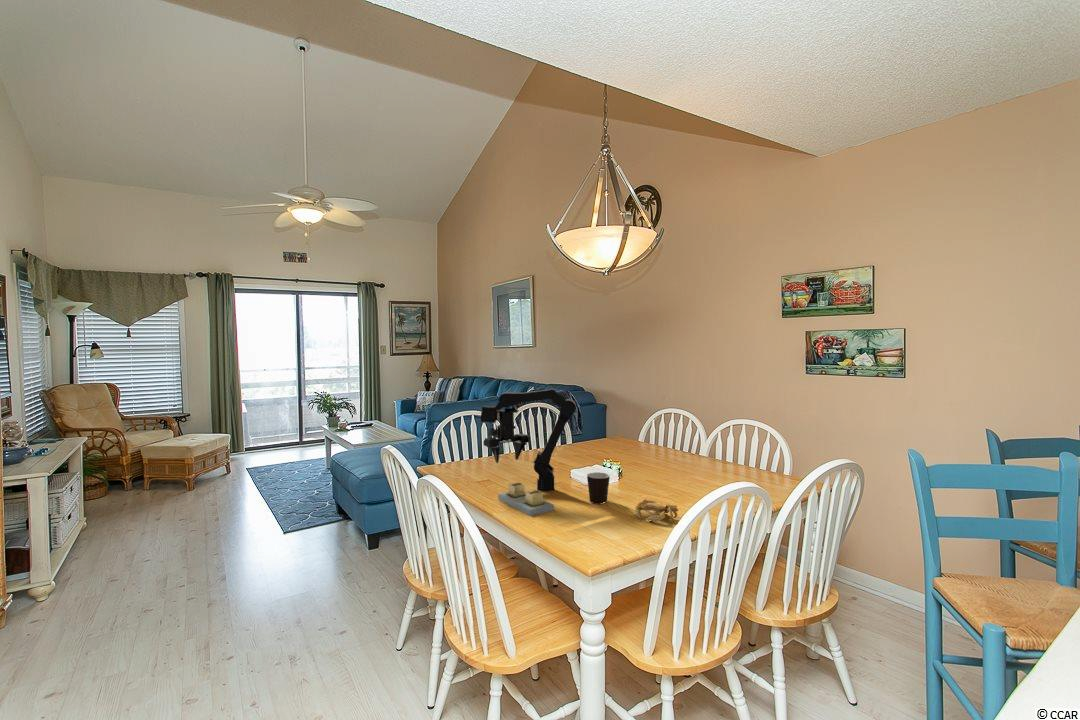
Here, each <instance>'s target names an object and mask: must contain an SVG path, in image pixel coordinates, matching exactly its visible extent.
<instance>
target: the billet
mask: <svg viewBox="0 0 1080 720" xmlns="http://www.w3.org/2000/svg"><path fill="white" fill-rule="evenodd" d="M507 487H508V490H507V492H508V495H509V496H510V497H512V498H518V497H523V496H525V492H526V491H525V489H526V487H525V484H524V483H521V482H518V481H517V482H511V483H508V486H507Z"/></svg>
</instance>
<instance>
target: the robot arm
mask: <svg viewBox="0 0 1080 720" xmlns="http://www.w3.org/2000/svg"><path fill="white" fill-rule="evenodd" d="M543 400H551V401H552V402H553V403H554V404H555V405H557V406H558V407H559V408H560V409H559V414H558V418H557V420H556V422H555V425H554V426H553V429H552V431H551V433H550V435H549V436H548V437H549V438H548V440H547V442H546V443H545V446H544V448H543V449H542V451H539V450H538V452H537V454H536V457H535V458H534V460H533V469H534V471H535V473H537V474H538V478H537V479H536V490H537V491H541V492H550V491H555V475H554V472H555V471H554V470H555V468H554V467H553V466H552V465H551V464H550V461H551V459H552V454H553V452H554V450H555V448H556V445H557V444H558V442H559V439H560V438H561V435H562V433H563V430H564V429H565V427H566V425H567V423H568V422H569V420H570V419H571V417H572V416H573V414H574V413H575V412H576V409H577V407H576V406H577V405H576V402H575V400H574V399H571V398H567V397H566V396H565V395H563V394H561V393H560V392H559V391H557V390H556V389H555V388H549V389H548V388H547V389H541V390H540V389H539V390H533V391H525V392H519V391H517V392H516V391H505V392H503V393H502V394H500V396H499V398H498V402H497V404H495V406H485V405H483V406H482V407H481V412H480V413H481V414H480V422H481V424H496V423H497V421H499V425H497V428H496V429H495V427H491V428H489V429H488V435H489V436H488V437H485V438H484V440H483V446H485V447H486V448H489V449H490V451H491V453H492V456H493V458H494V462H495V463H496V464H498V463H499V460H500V445H501V444H506V443H513V444H514V458H515V461H517V460H519V458H520V455H521V453H522V451H523V449H524V448H525V446H526V445H527V443H530V437H529V435H528V434H525V433H516V434H515V433H514V432H515V431H514V430H515V429H516V425H514V424H515V420H514V419H515V413H518V412H519V409H518V408H516V406H517V405H518V404H523V403H527V402H535V401H536V402H537V401H543Z"/></svg>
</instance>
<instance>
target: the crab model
mask: <svg viewBox="0 0 1080 720" xmlns="http://www.w3.org/2000/svg"><path fill="white" fill-rule="evenodd" d="M646 510H647V511H649V512H650V511H653V512H658V513H659V514H655V515H651V516H649V517H647V518H645V521H646V520H648V521H649V520H651V521H655V522H659V521H661V520H662V521H663V520H664V519H665V518H666V514H665V513H669V516H670V517H669V520H671V521H672V520H673V518H675V519H676V518H677V517H678V512H679V509H678V505H672V504H666V505H663V504H660V503H658V502H657V501H653V500H650V499H648V500H647V499H643V500H642V501H640V502H639V503H638V504H637V505H636V506H635V514H636V516H637V517H638V519H639V520H641V518H642V519H643V517H642V512H641V511H646ZM669 520H668V521H669Z"/></svg>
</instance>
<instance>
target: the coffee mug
mask: <svg viewBox="0 0 1080 720" xmlns="http://www.w3.org/2000/svg"><path fill="white" fill-rule="evenodd" d="M610 477H611V475H610V474H608V473H606V472H597V471H596V472H594V471H593V472H590V473H587V474H586V479H587V485H588V486H587V488H588V496H589V497H588V498H589V502H590V501H591V502H593V503H592V504H594V503H603V502H606V501H607V502H608V493H609V485H610V484H609V483H610ZM591 502H590V503H591ZM607 502H606V503H607Z"/></svg>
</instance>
